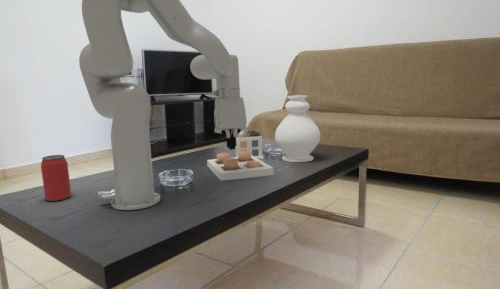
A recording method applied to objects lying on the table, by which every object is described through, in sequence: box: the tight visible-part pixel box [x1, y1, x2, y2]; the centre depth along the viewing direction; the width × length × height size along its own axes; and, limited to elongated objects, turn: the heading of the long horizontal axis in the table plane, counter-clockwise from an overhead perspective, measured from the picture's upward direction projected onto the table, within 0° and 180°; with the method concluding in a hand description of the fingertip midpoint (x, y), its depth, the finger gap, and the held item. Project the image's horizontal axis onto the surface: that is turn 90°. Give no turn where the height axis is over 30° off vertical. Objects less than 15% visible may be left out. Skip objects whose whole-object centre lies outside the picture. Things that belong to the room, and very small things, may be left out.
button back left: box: [216, 152, 231, 164], centre depth 129 cm, size 5×5×3 cm
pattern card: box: [235, 135, 265, 160], centre depth 143 cm, size 11×4×9 cm, turn 108°
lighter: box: [245, 129, 264, 155], centre depth 155 cm, size 8×3×10 cm, turn 58°
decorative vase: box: [274, 94, 321, 163], centre depth 140 cm, size 18×18×25 cm
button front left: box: [224, 157, 238, 170], centre depth 120 cm, size 5×5×3 cm
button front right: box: [246, 161, 260, 168], centre depth 123 cm, size 5×5×3 cm
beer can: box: [40, 154, 72, 202], centre depth 100 cm, size 7×7×12 cm
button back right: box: [238, 151, 251, 161], centre depth 132 cm, size 5×5×3 cm
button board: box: [206, 156, 275, 182], centre depth 126 cm, size 18×22×2 cm
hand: (231, 148), depth 120 cm, fingers closed
